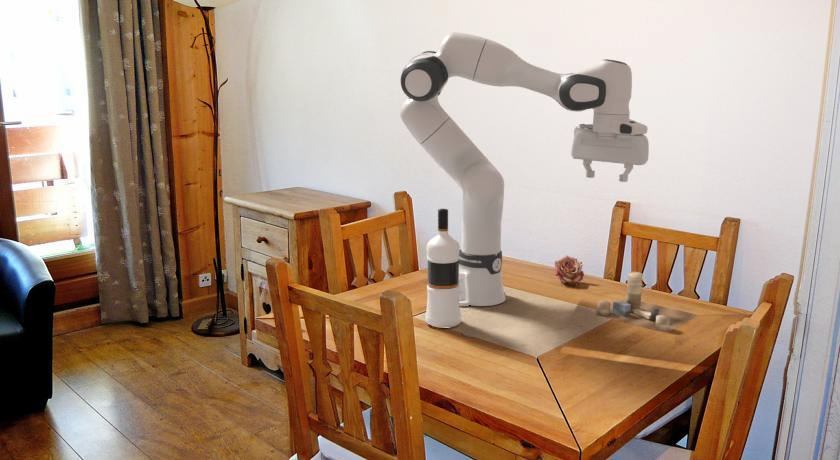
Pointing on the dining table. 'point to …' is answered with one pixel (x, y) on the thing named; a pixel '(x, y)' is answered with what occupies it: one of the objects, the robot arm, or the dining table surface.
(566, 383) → the dining table surface
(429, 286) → the vodka
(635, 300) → the leg
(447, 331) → the dining table surface
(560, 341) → the dining table surface
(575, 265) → the flower
